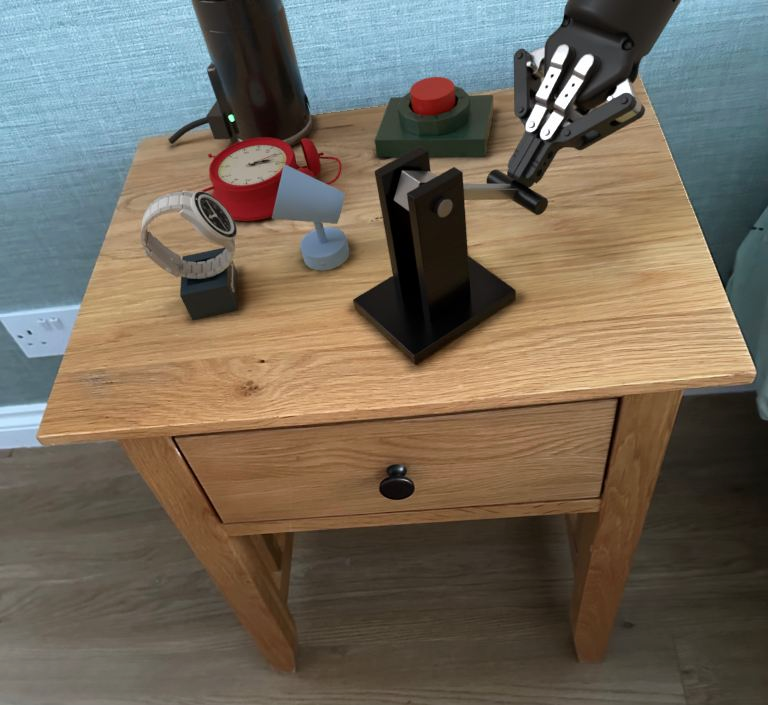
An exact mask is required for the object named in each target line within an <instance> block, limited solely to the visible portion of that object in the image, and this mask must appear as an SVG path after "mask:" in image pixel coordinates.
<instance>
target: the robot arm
mask: <svg viewBox="0 0 768 705" xmlns="http://www.w3.org/2000/svg"><path fill="white" fill-rule="evenodd" d="M681 1H682V0H567V2H566V4H565V6H564V10H563V17H562V21H561V24H560V25H559V26H558V27H557V29H556V30H555V31H554V32H552V33H551V34H549V36H548V38H547V39H546V41H545V44H544V46H541V47H540V48H537V49H534V50H532V51H527V50H526V49H524V48H518V49H517V51H515V53H514V55H513V100H514V101H513V106H514V107H513V108H514V109H513V110H514V112H513V114H514V115H515V117H517V118H518V119H519V121H521V123H522V124H523V126H524V134H523V136H522V137H521V139H520V141H519V143H518V144H517V145H516V148H515V150H514V151H513V153H512V155H511V156H510V159H509V160H508V164H507V168H508V169H507V171H506V175H507V176H508V177H510V178H512V179H514V180H515V181H517V182H519V183H521V184H522V185H524V186H526V187H528V188H531V187H533V186H534V184H536V185H537V184H538V183H539V182H540V181H541V180H542V179H543V178H544V176H545V173H546V172H547V170H548V168H549V167H550V165H551V164H552V162H553V160H554V159H555V157H556V155H557V154H558V152H559V151H560V150H562V149H565V148H567V149H568V148H569V149H575V150H577V151H583V150H584V149H587V148H589V147H590V146H592V145H594V144H596V143H598V142H600V141H601V140H603V139H605V138H608V137H609V136H611V135H612V134H614V133H616V132H619V131H620V130H622V129H623V128H625V127H627V126H629V125H631V124H632V123H634V122H636V121H638V120H640V119H641V118H643V116H644V115H645V113H646V108H645V105H643V103H641V101H640V100H638V96H637V94H636V90H635V87H634V83H635V82H636V80H637V79H638V76H639V70H640V64H641V61H642V59H643V58H644V57H646V56H647V55H649V54H650V53H651V51H652V49H653V48H654V46H655V45H656V43H657V41H658V39H659V37H660V36H661V34H662V33H663V32H664V30H665V28H666V27H667V25H668V23H669V21H671V18H672V17H673V15H674V13H675V12H676V10H677V8H678V7H679V5H680V3H681ZM190 2H191V5H192V8H193V11H194V15H195V17H196V20H197V23H198V25H199V28H200V31H201V32H200V33H201V34H202V38H203V41H204V43H205V44H204V45H205V48H206V49H207V53H208V55H209V58H210V60H211V62H210V64H209V65H208V66H207V68H206V74H207V76H208V80H209V82H210V85H211V88H212V91H213V95H214V97H215V99H216V100H215V102H214V103H213V105H212V106H211V108H210V110H209V111H208V113H207V114H206V116H205V117H202V118H199V119H196V120H193V121H191V122H190V123H188V124H185V125H184V126H182V127H181V128H179V129H178V130H177V131H176V132H175V133H173V135H171V136H170V137H169V138H168V140H167V141H168V143H170V144H171V145H173V144H174V143H176V142H177V141H178V140H179V139H180V138H182V137H183V136H184V135H186V134H187V133H188V132H190V131H192V130H194V129H196V128H198V127H201V126H204V125H207V124H208V125H209V129H210V131H211V134H212V136H213V139H214V140H230V143H231V145H233V144H235V143H238V142H241V141H244V140H248V139H253V138H263V137H267V138H275V139H279V140H282V141H284V142H286V143H287V144H288V145H289V146H290V147H292V146H294V145H297V144H298V143H301V141H300V140H301V139H305V138H307V136H308V135H309V134H310V132H311V131H312V130H313V125H314V123H313V119H312V118H313V117H312V113H311V111H310V108H311V105H310V102H309V97H308V96H307V94H306V92H305V88H304V84H303V80H302V75H301V72H300V67H299V63H298V59H297V55H296V50H295V47H294V43H293V39H292V34H291V30H290V26H289V21H288V17H287V13H286V10H285V5H284V1H283V0H190ZM543 77H544V80H543V82H542V84H541V78H543ZM554 97H556V98H557V100H556V99H555V98H554ZM605 102H606V103H605ZM573 105H575V106H576V107H577V108H576V109H573Z"/></svg>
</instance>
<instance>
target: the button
mask: <svg viewBox="0 0 768 705" xmlns="http://www.w3.org/2000/svg"><path fill="white" fill-rule="evenodd" d="M455 86H456V85H455V83H454V82H453V81H452V80H451V79H450V78H446V77H442V76H430V77H426V78H422V79H420V80H418V81H416V82H414V83H413V84H412V85H411V87H410V90H409V92H410V95H411V104H412V110H413V111H414V112H415V113H417V114H420V115H439V114H442V113H445V112H449V111H450V110H451V109H452V108H454V106H455V104H456V100H455Z"/></svg>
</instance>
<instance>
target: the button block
mask: <svg viewBox="0 0 768 705" xmlns="http://www.w3.org/2000/svg"><path fill="white" fill-rule="evenodd" d="M454 86H455V100H456V104H455V106H454V108H452V109H451V110H450V111H449V112H445V113H442V114H439V115H420V114H417V113H415V112H414V111H413V110H412V104H411V95H410V91H409V92H408V93H406V94H404V95H403V96H401V97H400V96H397V97H396V96H395V97H393V96H392V97H390V98H389V101H388V103H387V106H386V108H385V111H384V114H383V117H382V120H381V122H380V124H379V127H378V130H377V133H376V135H375V138H374V145H375V151H376V157H377V158H399V157H401V156H403V155H405V154H407V153H408V152H410V151H412V150H414V149H416V148H418V147H420V146H421V147H423V148H425V149H426V150H428V151H429V158H485V157H486V154H487V150H488V149H487V148H488V143H489V138H490V133H491V127H492V123H493V119H494V118H493V117H494V112H495V111H494V109H495V107H494V95H493V94H476V95H475V94H473V95H469V94H468V93H467V91H466V90H464V88H462V87H459V86H456V85H454Z"/></svg>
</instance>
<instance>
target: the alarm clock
mask: <svg viewBox="0 0 768 705" xmlns="http://www.w3.org/2000/svg"><path fill="white" fill-rule="evenodd" d="M300 145H301V150H302V153H303V156H304V158H303V159H304V161H305V164H306V165H304V166H299V164H298V162H297V156H296V154H295V152H294V150H293V149H292V146H289V145H288V144H287V143H286V142H284V141H282V140H279V139H275V138H267V137H263V138H253V139H248V140H244V141H241V142H238V143H235V144H233V145H232V144H231V145H229V146H228V147H225V148H224V149H223V150H221V151H220V152H218V153H217V154H216V155H213V154H212V153H207V154H208V155H207V157H208V158H209V159H211V158H212V160H211V162H210V164H209V167H208V176H209V180H210V183H211V186H209V187H206V188H204V189H202V190H200V191H203V192H206V193H207V192H210V191H212V190H213V192H212V194H211V195H212V196H213V197H215V198H216V199H217V200H218V201H220V202H221V203H222V204H223V205H224V207H225V208H226V209H227V210H228V212H229V213H230V214H231V216H232V218H233V220H234V221H245V222H246V221H247V222H249V221H250V222H251V221H259V220H264V219H268V218H272V216H273V211H274V207H275V202H276V198H277V193H278V189H279V185H280V180H281V176H282V171H283V167H284V164H285V165H287V166H289V167H291V168H294V169H296V170H298V171H300V172H302V173H304V174H306V175H308V176H310V177H313V178H315V179H316V178H317V177H319V176H320V175H321V172H322V164H321V160H334V161H335V162H338V166H339V167H338V172H337V175H336V176H335V177H334V178H333V179H332V180H330V181H327V182H326V183H325V182H324V183H325V184H327V185H330V186H331V185H333V184H334V183H335V182H337V180H338V179H339V178H340V176H341V174H342V170H343V167H342V166H343V164H342V162H341V159H339V158H338V157H335V156H324V154H325V153H324V151H321V152H318V149H317V147H316V144H315V143H314V141H312V140H311V139H310V138H307V137H305V138H304V139H301V140H300Z"/></svg>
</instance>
